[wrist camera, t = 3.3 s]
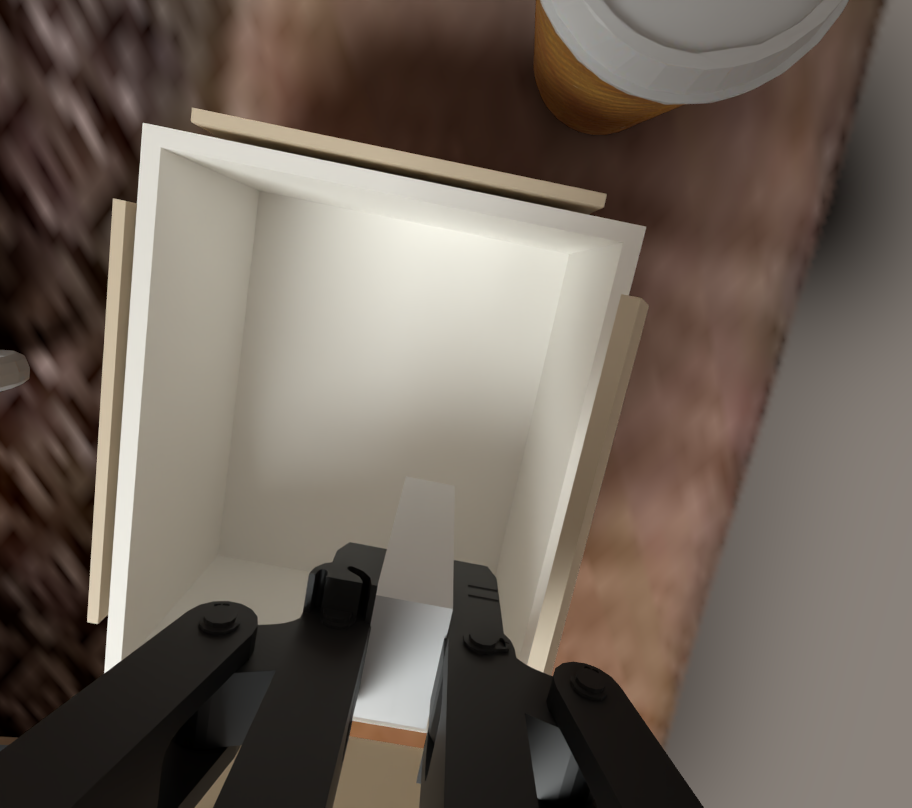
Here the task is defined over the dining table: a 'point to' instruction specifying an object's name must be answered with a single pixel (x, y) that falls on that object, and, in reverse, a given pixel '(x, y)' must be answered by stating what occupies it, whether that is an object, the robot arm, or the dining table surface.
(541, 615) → the long flap
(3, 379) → the mug
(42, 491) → the dining table surface
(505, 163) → the dining table surface
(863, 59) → the dining table surface
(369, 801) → the short flap
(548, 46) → the disposable coffee cup
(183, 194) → the carton
